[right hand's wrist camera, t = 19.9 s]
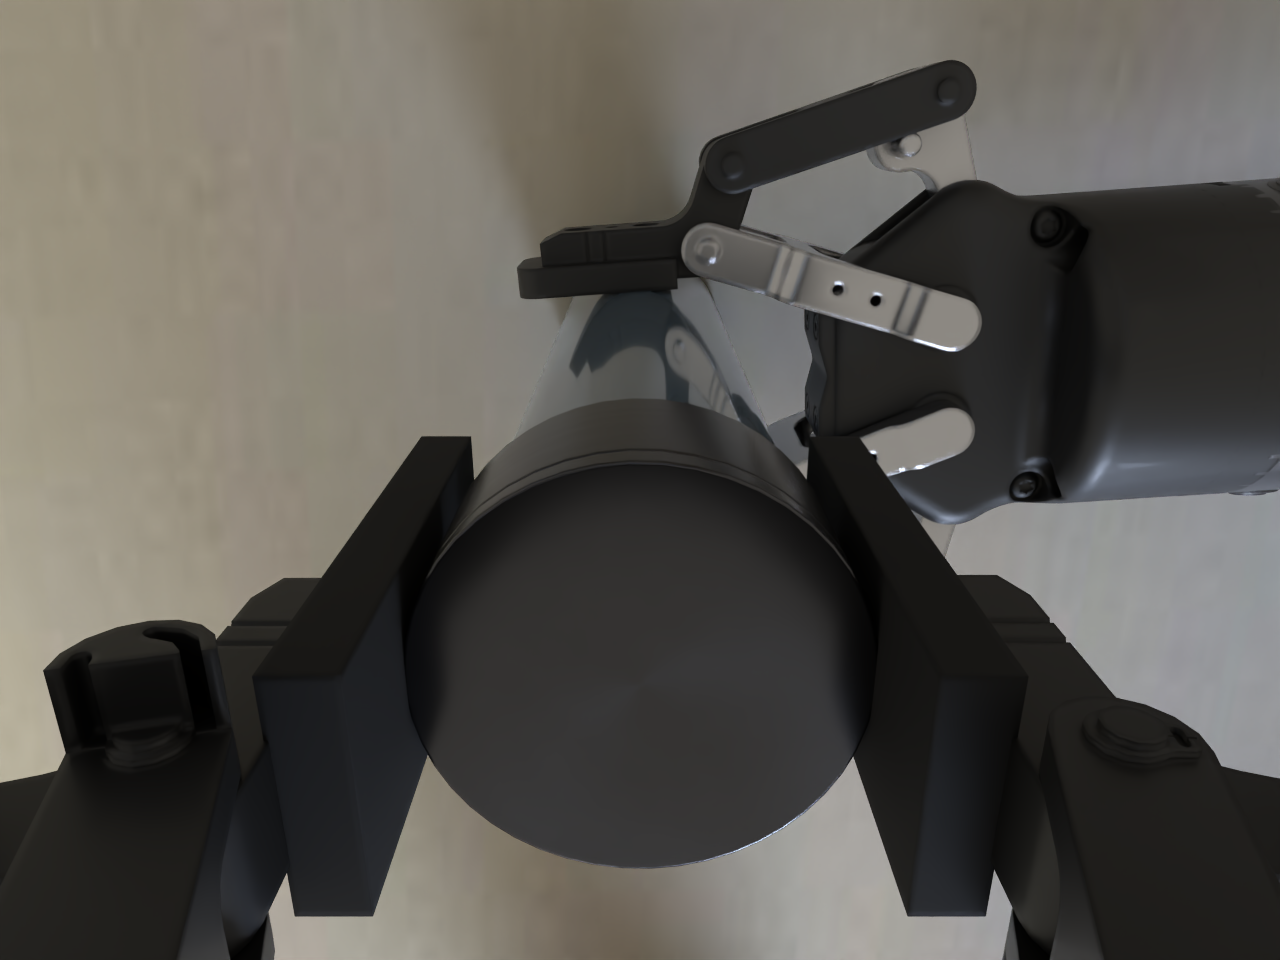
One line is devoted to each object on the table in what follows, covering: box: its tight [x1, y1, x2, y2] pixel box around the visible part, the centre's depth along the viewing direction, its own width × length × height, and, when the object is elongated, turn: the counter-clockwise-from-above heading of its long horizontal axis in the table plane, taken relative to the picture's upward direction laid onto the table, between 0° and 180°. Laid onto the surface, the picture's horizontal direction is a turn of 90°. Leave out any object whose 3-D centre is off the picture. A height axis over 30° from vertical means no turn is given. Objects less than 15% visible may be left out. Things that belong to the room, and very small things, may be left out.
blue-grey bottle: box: [514, 277, 776, 446], centre depth 20 cm, size 5×5×19 cm
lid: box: [404, 398, 878, 868], centre depth 11 cm, size 5×5×2 cm
